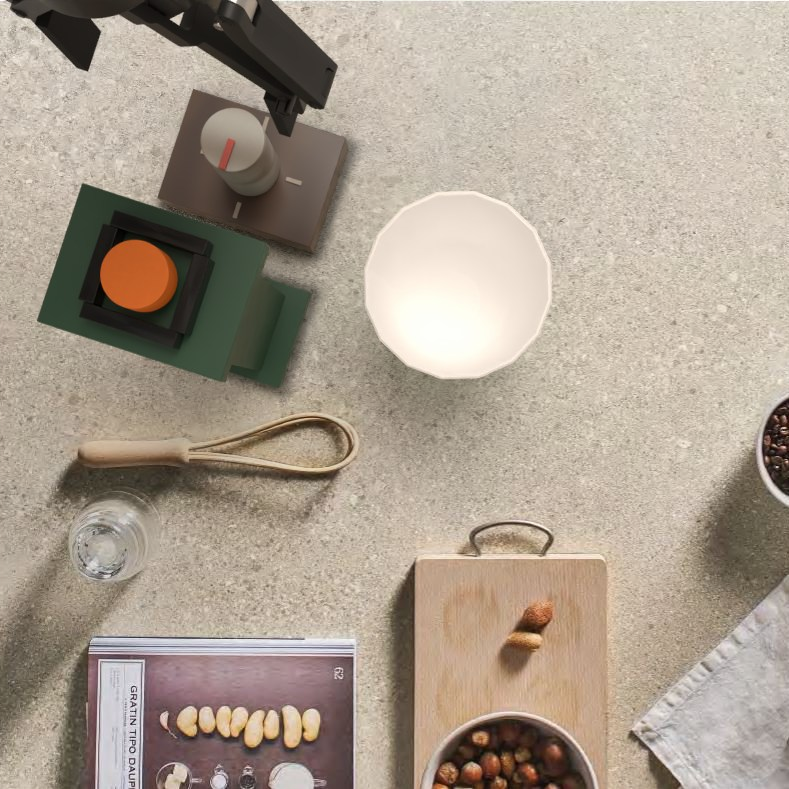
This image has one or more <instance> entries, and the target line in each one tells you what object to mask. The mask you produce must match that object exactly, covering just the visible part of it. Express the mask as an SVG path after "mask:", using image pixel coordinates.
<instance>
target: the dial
mask: <svg viewBox="0 0 789 789" xmlns="http://www.w3.org/2000/svg"><path fill="white" fill-rule="evenodd" d="M201 148H202V151H203V154H204V156H205V157H206V159H207V160H208V161H209V163H210V164H211V165H212V166H213V167H214V169H215V170H216V171H217V172H218V173H219V175H220V176H221V177H222V178H223V179H224V181H225V182H226V183H227V184H228V185H229V187H230V188H231V189H232V190H234V191H235V192H237V193H239V194H241V195H245V196H257V195H260V194H263V193H265V192H267V191H268V190H269V189H270V188H271V187H272V186H273V185H274V184H275V182H276V181H277V178H278V176H279V171H280V163H279V158H278V156H277V154H276V152H275V150H274V148H273V146H272V144H271V142H270V141H269V139H268V137H267V135H266V133H265V131H264V129H263V128H262V126H261V124H260V122H259V121H258V120H257V118H256V117H255V116H253V115H252V114H251V113H249V112H247V111H245V110H243V109H238V108H227V109H223V110H221V111H218V112H217V113H215V114H214V115H212V116H211V117H210V118H209V119H208V120H207V122H206V123H205V125H204V127H203V129H202V133H201Z"/></svg>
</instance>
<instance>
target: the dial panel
mask: <svg viewBox="0 0 789 789" xmlns="http://www.w3.org/2000/svg"><path fill="white" fill-rule="evenodd" d="M227 108H238V109H243V110H245V111H247V112H249V113H251V114H252V115H253V116H255V117H256V118H257V120H258V121H259V122H260V124H261V126H262V128H263V129H264V131H265V133H266V135H267V137H268V139H269V141H270V142H271V144H272V146H273V148H274V150H275V152H276V154H277V156H278V158H279V163H280V171H279V176H278V178H277V181H276V182H275V184H274V185H273V186H272V187H271V188H270V189H269V190H268V191H267V192H265V193H263V194H260V195H257V196H245V195H241V194H239V193H237V192H235V191H234V190H232V189H231V188H230V187H229V185H228V184H227V183H226V182H225V181H224V179H223V178H222V177H221V176H220V175H219V173H218V172H217V171H216V170H215V169H214V167H213V166H212V165H211V164H210V163H209V161H208V160H207V159H206V157H205V156H204V154H203V151H202V148H201V133H202V129H203V127H204V125H205V123H206V122H207V120H208V119H209V118H210V117H211V116H212V115H214V114H215V113H217V112H218V111H221V110H223V109H227ZM178 130H179V131H178V133H177V136H176V140H175V142H174V146H173V148H172V152H171V155H170V157H169V160H168V164H167V167H166V170H165V173H164V176H163V178H162V183H161V185H160V187H159V191H158V194H157V199H158V200H159V201H160V202H161V203H163V204H164V205H166V206H167V207H170V208H172V209H176V210H179V211H182V212H185V213H188V214H191V215H195V216H198V217H201V218H204V219H207V220H210V221H213V222H216V223H219V224H222V225H225V226H229V227H231V228H235V229H237V230H241V231H243V232H247V233H250V234H252V235H256V236H259V237H263V238H265V239H268V240H272V241H274V242H277V243H280V244H284V245H287V246H289V247H293V248H296V249H298V250H302V251H306V252H308V253H311V254H314V253H315V251H316V247H317V245H318V242H319V239H320V235H321V233H322V229H323V226H324V224H325V221H326V217H327V214H328V212H329V208H330V205H331V202H332V199H333V197H334V193H335V191H336V190H335V189H336V187H337V184H338V181H339V178H340V174H341V172H342V168H343V166H344V162H345V159H346V156H347V154H348V151H349V146H348V141H347V138H346V137H344V136H343V135H339V134H336V133H332V132H329V131H327V130H323V129H320V128H317V127H313V126H311V125H307V124H305V123H301V122H298V121H296V122H295V125H294V128H293V131H292V134H291V137H287V136H284V135H281V134H279V132H278V130H277V128H276V126H275V124H274V121H273V119H272V117H271V115H270V112H268V111H264V110H261V109H258V108H255V107H251V106H248V105H245V104H242V103H240V102H237V101H233V100H230V99H226V98H223V97H220V96H217V95H214V94H211V93H208V92H204V91H202V90H199V89H195V88H193V89H192V91H191V93H190V97H189V100H188V102H187V106H186V109H185V111H184V115H183V118H182V121H181V124H180V127H179V129H178Z"/></svg>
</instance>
